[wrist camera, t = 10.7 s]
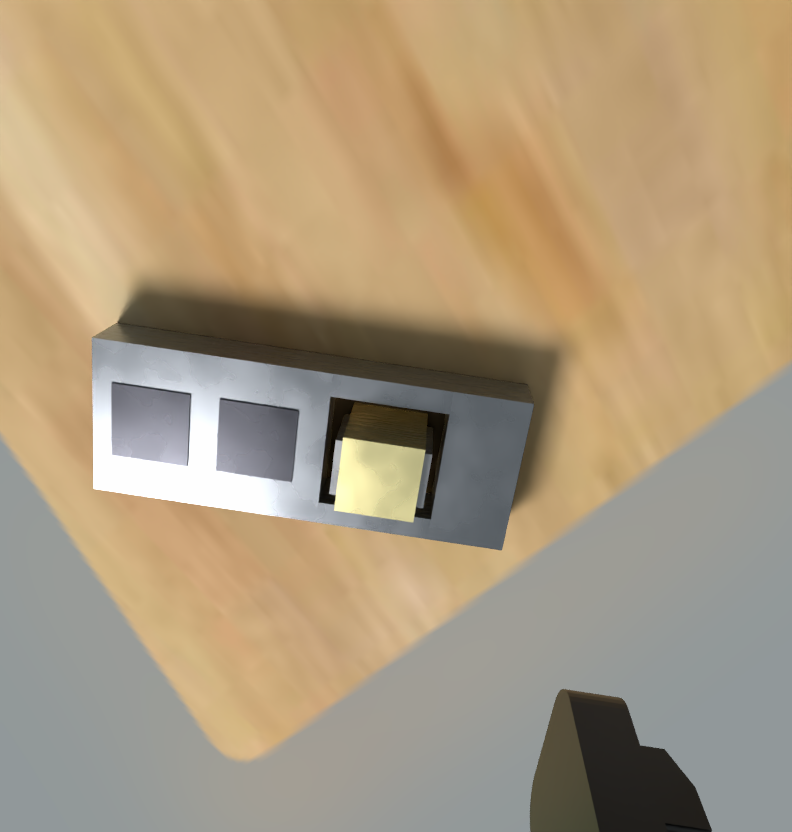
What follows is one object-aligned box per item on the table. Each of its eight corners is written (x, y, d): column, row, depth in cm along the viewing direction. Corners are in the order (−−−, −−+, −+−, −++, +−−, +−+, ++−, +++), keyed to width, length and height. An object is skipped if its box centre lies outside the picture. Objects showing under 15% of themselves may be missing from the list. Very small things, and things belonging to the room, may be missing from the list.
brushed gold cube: (347, 401, 40) (334, 436, 36) (434, 414, 40) (433, 451, 36) (339, 467, 42) (326, 509, 37) (423, 480, 42) (421, 523, 37)
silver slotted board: (116, 322, 39) (91, 338, 36) (527, 384, 39) (534, 404, 36) (116, 465, 42) (93, 489, 39) (497, 522, 42) (501, 551, 39)
